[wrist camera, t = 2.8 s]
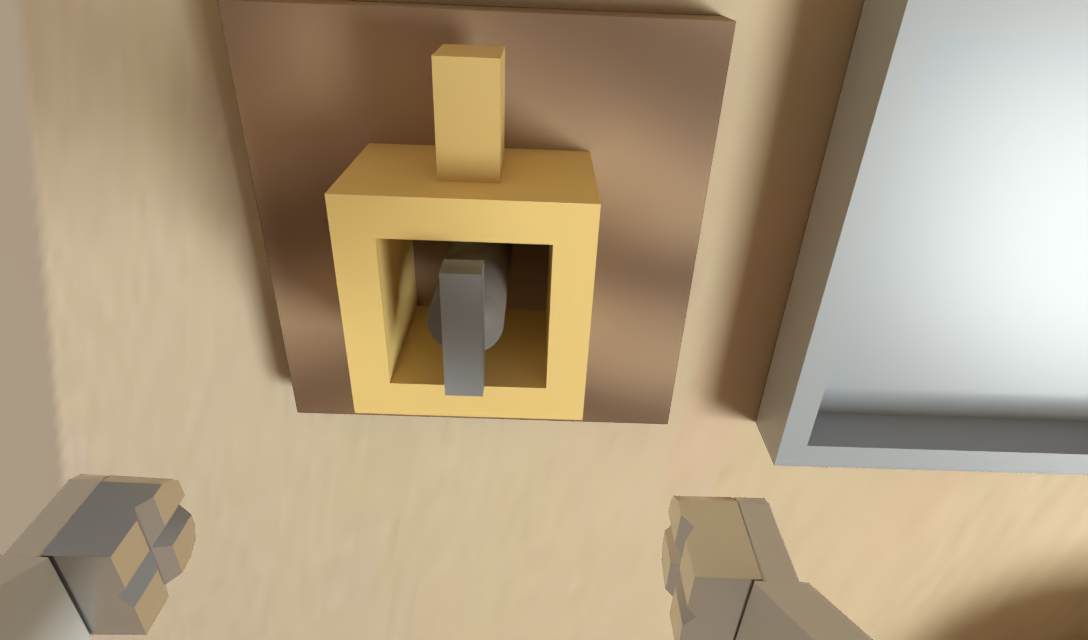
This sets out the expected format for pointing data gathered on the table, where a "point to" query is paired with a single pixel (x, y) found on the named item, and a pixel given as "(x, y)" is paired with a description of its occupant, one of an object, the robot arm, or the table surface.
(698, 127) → the board with post
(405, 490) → the table surface
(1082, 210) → the tray
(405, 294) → the collar
